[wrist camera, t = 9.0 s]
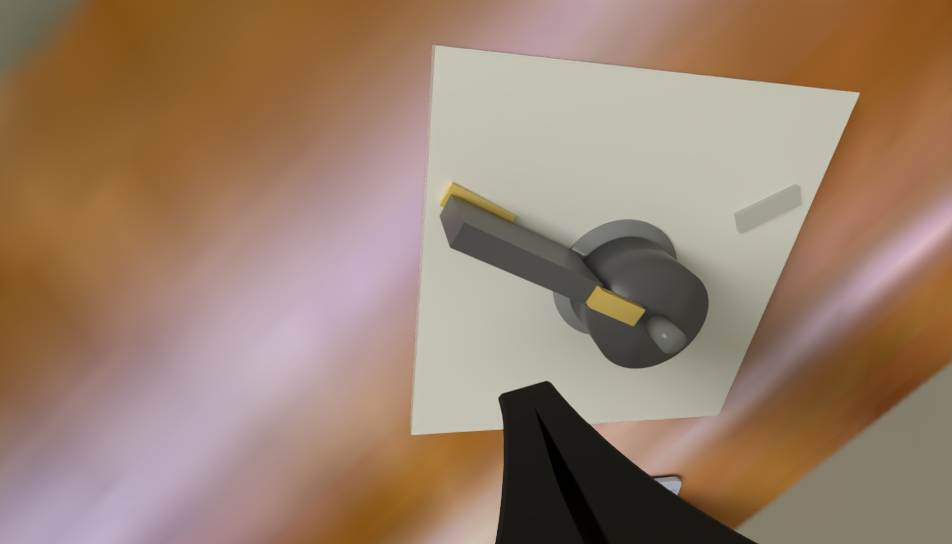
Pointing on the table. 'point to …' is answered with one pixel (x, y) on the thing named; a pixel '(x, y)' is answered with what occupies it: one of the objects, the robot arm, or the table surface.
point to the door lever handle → (590, 280)
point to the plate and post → (605, 223)
